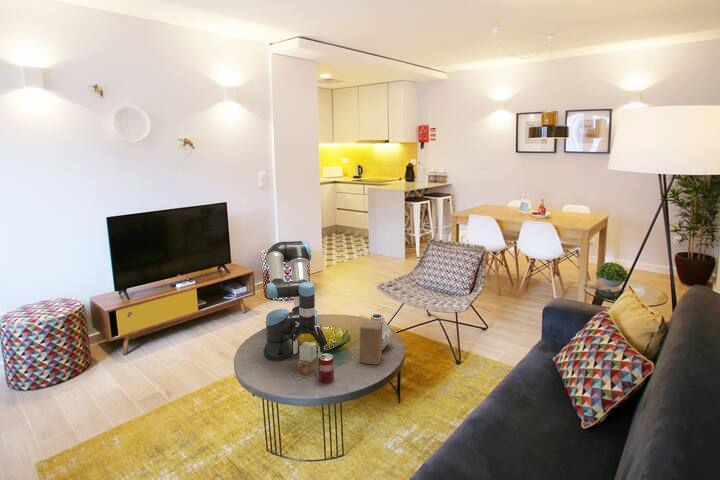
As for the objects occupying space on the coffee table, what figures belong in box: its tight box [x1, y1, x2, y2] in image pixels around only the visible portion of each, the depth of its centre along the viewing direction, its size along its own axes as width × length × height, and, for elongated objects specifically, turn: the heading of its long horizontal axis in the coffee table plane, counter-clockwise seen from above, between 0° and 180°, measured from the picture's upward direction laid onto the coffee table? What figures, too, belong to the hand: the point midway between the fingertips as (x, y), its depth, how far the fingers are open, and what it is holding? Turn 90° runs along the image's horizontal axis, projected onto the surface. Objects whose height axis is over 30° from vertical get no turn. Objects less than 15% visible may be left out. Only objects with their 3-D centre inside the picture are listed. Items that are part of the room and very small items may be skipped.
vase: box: [368, 313, 393, 351], centre depth 250 cm, size 16×16×18 cm
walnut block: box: [297, 353, 318, 377], centre depth 228 cm, size 5×12×6 cm, turn 156°
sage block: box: [298, 341, 317, 362], centre depth 227 cm, size 6×6×7 cm
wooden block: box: [359, 319, 383, 366], centre depth 236 cm, size 10×10×20 cm
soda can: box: [317, 353, 335, 385], centre depth 217 cm, size 7×7×12 cm
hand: (307, 355), depth 227 cm, fingers open, 13 cm apart
